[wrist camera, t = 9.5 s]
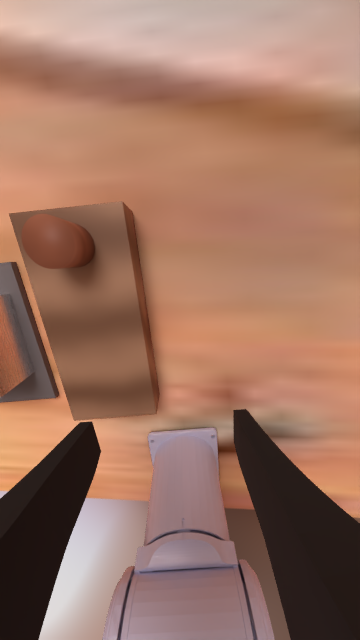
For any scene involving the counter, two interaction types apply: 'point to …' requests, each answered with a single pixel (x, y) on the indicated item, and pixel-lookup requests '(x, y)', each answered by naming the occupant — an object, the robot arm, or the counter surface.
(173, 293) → the counter surface
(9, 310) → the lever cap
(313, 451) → the counter surface
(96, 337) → the body
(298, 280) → the counter surface
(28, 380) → the rubber mat
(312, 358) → the counter surface
